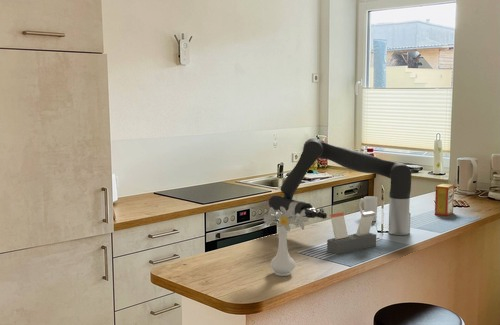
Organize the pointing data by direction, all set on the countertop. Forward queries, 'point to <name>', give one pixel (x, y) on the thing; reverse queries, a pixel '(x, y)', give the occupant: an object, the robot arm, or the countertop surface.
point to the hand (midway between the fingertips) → (325, 216)
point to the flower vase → (283, 237)
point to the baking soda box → (444, 199)
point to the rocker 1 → (339, 225)
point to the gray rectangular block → (351, 243)
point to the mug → (369, 205)
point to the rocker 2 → (365, 223)
